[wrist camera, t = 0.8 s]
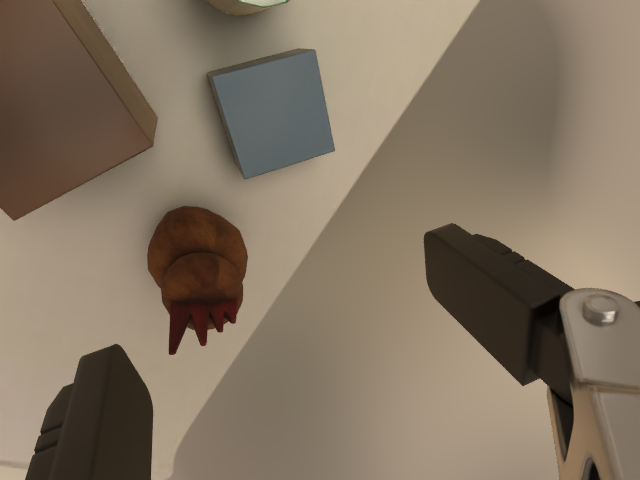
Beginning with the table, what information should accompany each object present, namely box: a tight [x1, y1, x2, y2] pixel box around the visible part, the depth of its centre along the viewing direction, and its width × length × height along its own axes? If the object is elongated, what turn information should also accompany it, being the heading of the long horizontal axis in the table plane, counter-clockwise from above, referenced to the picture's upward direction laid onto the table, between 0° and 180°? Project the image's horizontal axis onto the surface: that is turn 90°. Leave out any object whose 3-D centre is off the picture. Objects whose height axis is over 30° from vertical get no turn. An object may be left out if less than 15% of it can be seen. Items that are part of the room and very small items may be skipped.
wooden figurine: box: [148, 206, 248, 355], centre depth 27 cm, size 7×6×15 cm
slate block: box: [207, 49, 335, 179], centre depth 29 cm, size 7×7×4 cm
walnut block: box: [0, 0, 158, 220], centre depth 23 cm, size 8×8×9 cm
